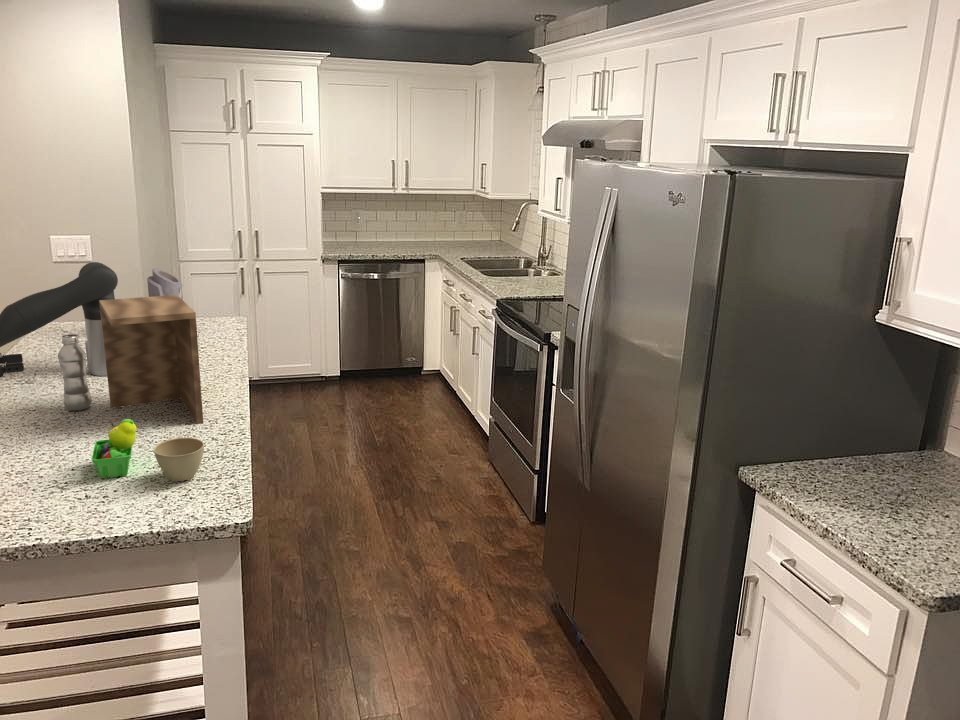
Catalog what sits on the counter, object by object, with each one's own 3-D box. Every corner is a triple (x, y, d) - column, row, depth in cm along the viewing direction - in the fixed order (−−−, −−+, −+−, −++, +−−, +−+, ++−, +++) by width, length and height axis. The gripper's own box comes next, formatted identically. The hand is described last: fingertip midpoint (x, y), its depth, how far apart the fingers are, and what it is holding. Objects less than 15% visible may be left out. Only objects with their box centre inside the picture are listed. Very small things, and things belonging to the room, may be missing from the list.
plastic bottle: (81, 414, 197) (72, 340, 191) (58, 411, 198) (49, 337, 193) (98, 406, 203) (90, 334, 198) (75, 403, 204) (67, 331, 199)
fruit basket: (97, 461, 170) (92, 414, 167) (140, 456, 173) (136, 410, 170) (93, 482, 160) (87, 432, 157) (139, 477, 163) (134, 428, 160)
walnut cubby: (122, 435, 185) (110, 319, 176) (110, 406, 203) (99, 300, 195) (203, 423, 194) (195, 312, 186) (185, 396, 213) (177, 294, 205)
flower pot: (164, 467, 168) (162, 437, 166) (211, 467, 169) (209, 437, 167) (149, 487, 159) (146, 455, 157) (199, 487, 159) (196, 455, 157)
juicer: (202, 330, 284) (198, 265, 278) (194, 341, 269) (189, 272, 262) (117, 330, 280) (111, 264, 273) (104, 341, 264) (96, 272, 258)
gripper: (-52, 377, 189) (24, 368, 198) (-54, 393, 178) (26, 384, 186) (-56, 348, 187) (20, 341, 195) (-60, 363, 176) (22, 354, 184)
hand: (23, 362), depth 191 cm, fingers open, 8 cm apart
